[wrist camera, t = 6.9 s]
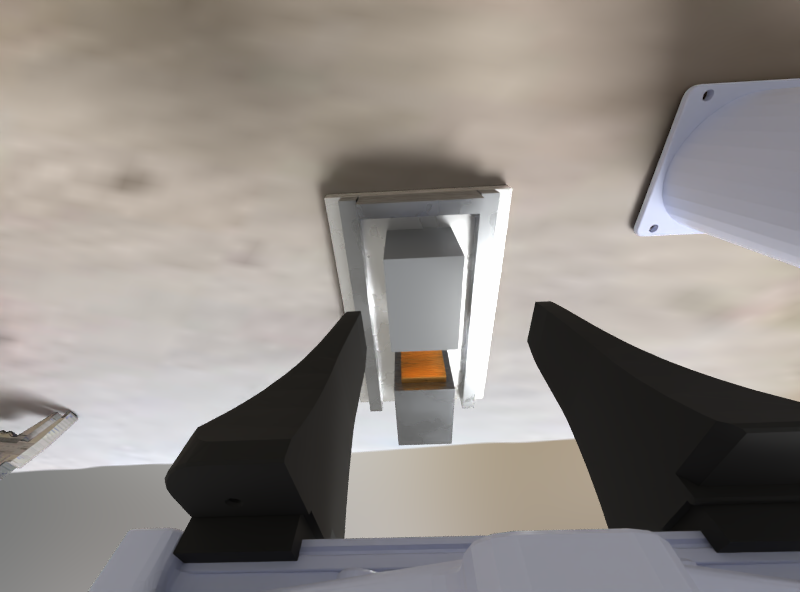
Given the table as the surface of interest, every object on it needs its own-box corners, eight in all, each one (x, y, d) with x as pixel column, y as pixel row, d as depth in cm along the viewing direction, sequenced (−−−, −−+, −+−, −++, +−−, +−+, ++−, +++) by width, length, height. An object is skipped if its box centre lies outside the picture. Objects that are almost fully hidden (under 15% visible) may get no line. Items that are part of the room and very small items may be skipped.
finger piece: (450, 227, 18) (464, 255, 14) (447, 313, 21) (458, 355, 18) (386, 230, 18) (383, 259, 14) (393, 315, 21) (391, 358, 18)
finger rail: (506, 185, 18) (546, 208, 13) (479, 389, 27) (496, 445, 22) (327, 194, 18) (302, 220, 13) (361, 393, 27) (354, 450, 22)
